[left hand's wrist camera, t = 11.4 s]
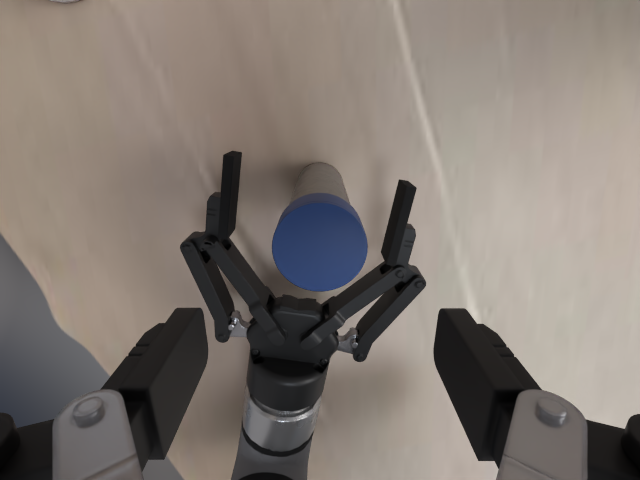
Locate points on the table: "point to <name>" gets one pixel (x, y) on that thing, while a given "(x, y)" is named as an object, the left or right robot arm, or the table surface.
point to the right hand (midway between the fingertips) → (321, 168)
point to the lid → (319, 242)
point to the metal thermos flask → (319, 182)
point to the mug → (64, 1)
